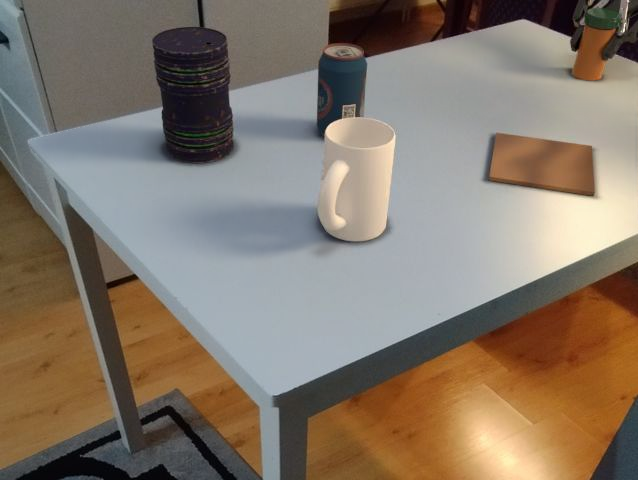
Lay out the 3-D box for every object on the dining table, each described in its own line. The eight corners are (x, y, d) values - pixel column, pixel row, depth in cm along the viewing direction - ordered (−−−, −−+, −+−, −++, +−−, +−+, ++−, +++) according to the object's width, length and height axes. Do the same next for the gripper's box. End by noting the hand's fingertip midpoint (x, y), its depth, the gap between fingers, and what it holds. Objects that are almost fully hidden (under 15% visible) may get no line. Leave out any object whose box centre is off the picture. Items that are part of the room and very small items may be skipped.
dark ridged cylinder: (151, 153, 96) (135, 44, 86) (190, 126, 103) (179, 21, 93) (211, 169, 94) (201, 58, 83) (247, 140, 100) (242, 34, 90)
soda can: (310, 124, 105) (312, 43, 96) (353, 119, 106) (358, 39, 98) (324, 144, 100) (327, 61, 92) (369, 139, 102) (375, 56, 93)
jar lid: (617, 20, 118) (620, 9, 117) (619, 31, 114) (622, 20, 113) (583, 16, 119) (586, 6, 118) (584, 27, 115) (587, 16, 114)
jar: (600, 71, 124) (618, 13, 117) (601, 82, 120) (620, 22, 113) (571, 67, 125) (587, 9, 118) (571, 78, 121) (588, 19, 114)
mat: (590, 149, 101) (592, 145, 101) (593, 196, 91) (595, 192, 91) (495, 136, 103) (496, 132, 103) (488, 180, 94) (489, 176, 93)
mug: (290, 243, 81) (289, 149, 73) (340, 199, 89) (345, 110, 80) (350, 266, 78) (356, 171, 70) (397, 218, 86) (407, 128, 77)
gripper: (601, -59, 117) (547, 30, 119) (683, -42, 110) (625, 53, 112) (605, -30, 124) (555, 54, 125) (683, -12, 117) (628, 77, 118)
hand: (588, 53), depth 119 cm, fingers closed on jar, 5 cm apart
